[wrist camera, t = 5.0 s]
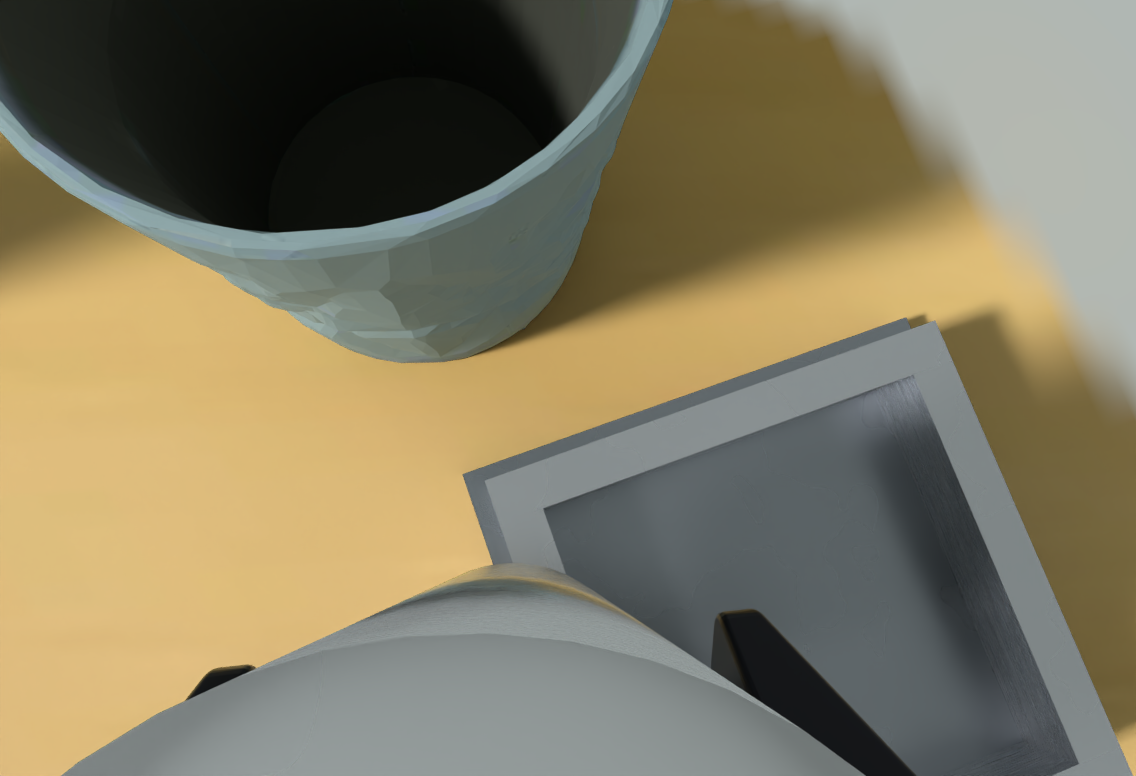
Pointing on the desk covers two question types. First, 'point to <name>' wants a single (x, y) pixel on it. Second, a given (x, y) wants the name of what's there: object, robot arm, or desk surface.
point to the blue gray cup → (340, 146)
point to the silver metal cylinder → (476, 699)
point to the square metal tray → (828, 548)
